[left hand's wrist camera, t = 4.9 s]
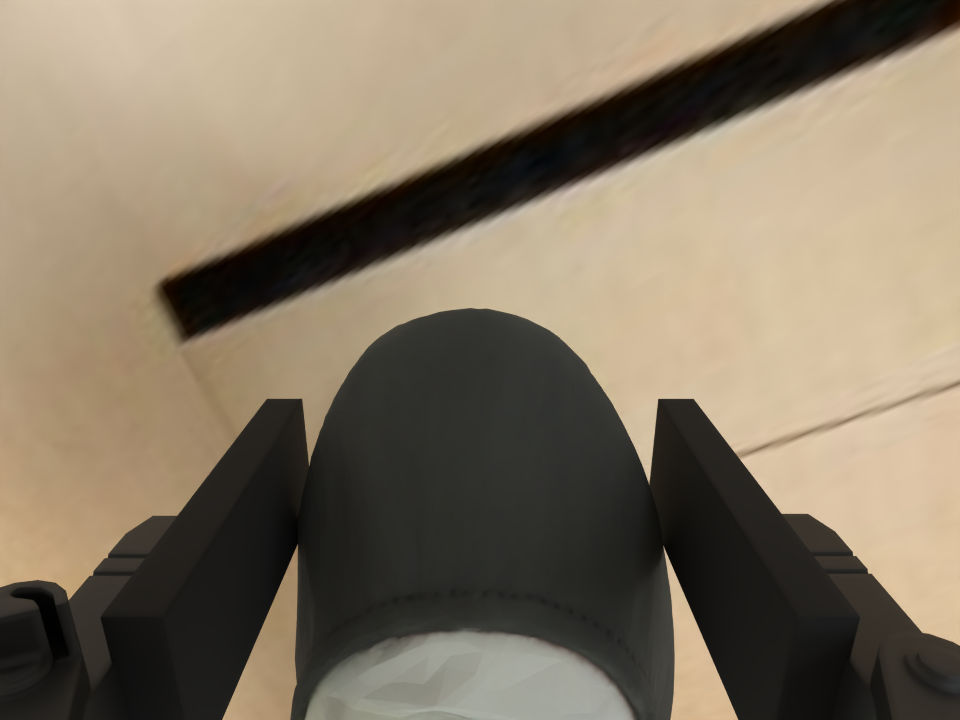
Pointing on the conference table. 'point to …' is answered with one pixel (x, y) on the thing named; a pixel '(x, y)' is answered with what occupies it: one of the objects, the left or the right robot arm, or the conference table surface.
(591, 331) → the conference table surface
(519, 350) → the ballet flat
